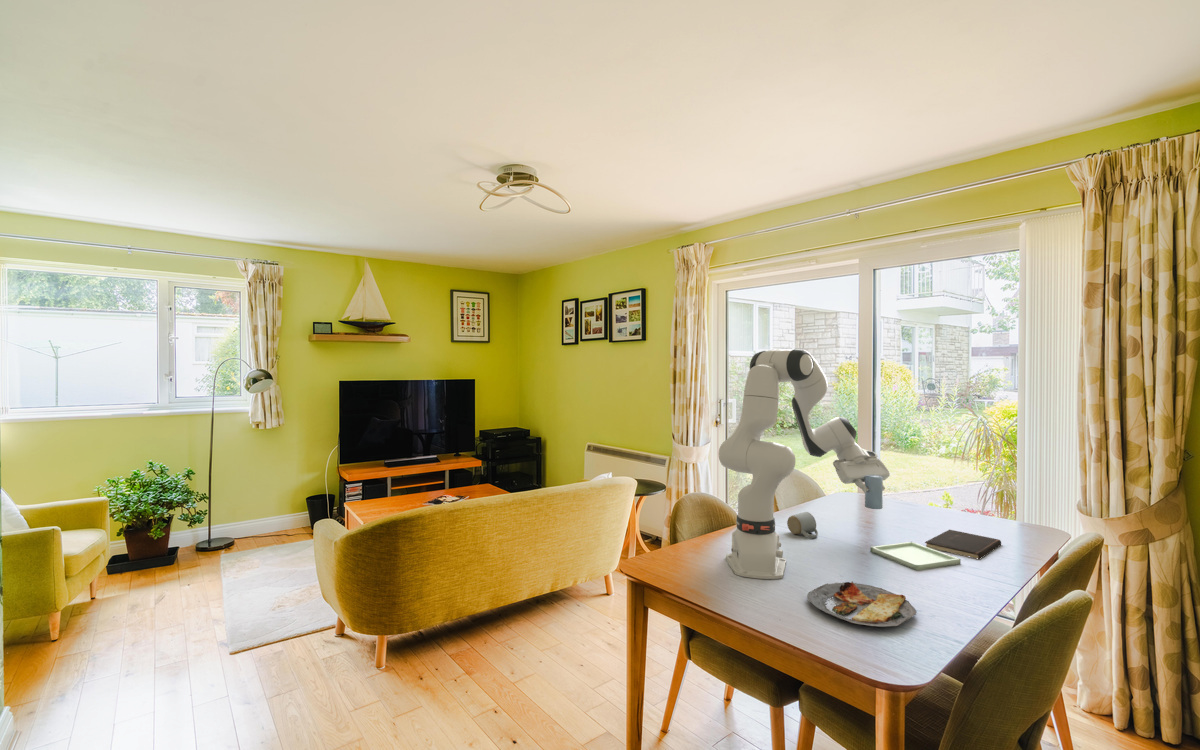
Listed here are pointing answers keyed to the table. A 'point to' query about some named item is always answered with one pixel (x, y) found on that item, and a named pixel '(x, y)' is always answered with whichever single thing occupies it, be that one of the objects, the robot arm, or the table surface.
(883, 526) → the table surface
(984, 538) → the hardcover book
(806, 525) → the ceramic mug
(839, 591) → the food plate
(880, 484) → the grey cylinder
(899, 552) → the tray
